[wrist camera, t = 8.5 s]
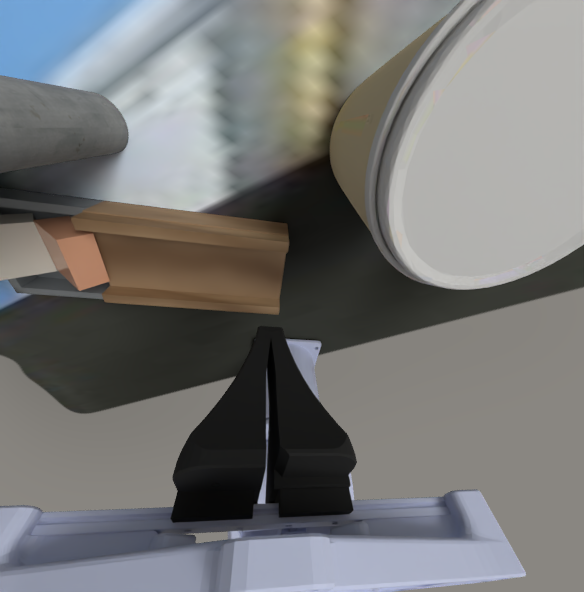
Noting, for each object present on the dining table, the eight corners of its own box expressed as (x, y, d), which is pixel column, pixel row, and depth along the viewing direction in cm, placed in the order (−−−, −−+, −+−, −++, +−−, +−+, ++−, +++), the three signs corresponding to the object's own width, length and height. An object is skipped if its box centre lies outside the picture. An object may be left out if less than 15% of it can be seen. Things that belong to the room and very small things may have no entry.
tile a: (109, 281, 19) (79, 290, 17) (86, 262, 20) (56, 269, 19) (93, 233, 16) (56, 239, 15) (68, 215, 18) (32, 220, 16)
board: (277, 291, 24) (278, 315, 21) (128, 278, 22) (105, 303, 19) (287, 223, 19) (289, 241, 17) (104, 200, 18) (69, 216, 15)
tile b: (-20, 283, 16) (-18, 270, 17) (57, 271, 19) (55, 260, 20) (-61, 228, 14) (-55, 217, 15) (33, 222, 16) (32, 213, 18)
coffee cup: (471, 142, 17) (737, 165, 7) (366, 233, 20) (447, 330, 11) (409, -1, 13) (844, -406, 3) (290, 146, 16) (313, 176, 7)
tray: (131, 287, 22) (119, 300, 21) (36, 280, 21) (16, 292, 20) (104, 200, 18) (87, 208, 16) (-20, 185, 17) (-51, 191, 15)
